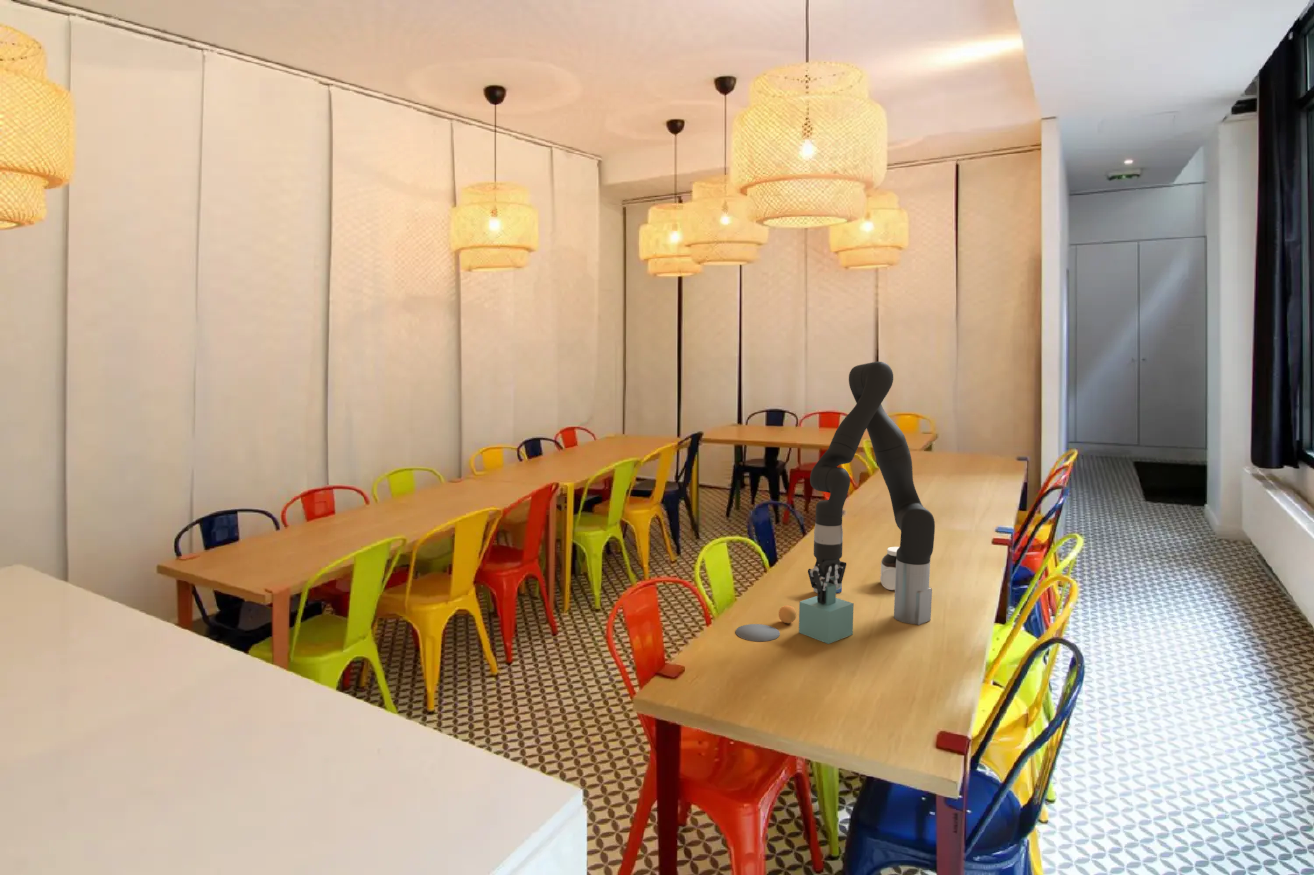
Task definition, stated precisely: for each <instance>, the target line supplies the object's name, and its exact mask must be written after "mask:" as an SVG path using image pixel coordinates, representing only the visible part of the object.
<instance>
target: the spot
mask: <svg viewBox="0 0 1314 875" xmlns="http://www.w3.org/2000/svg"><path fill="white" fill-rule="evenodd" d="M735 634H736V636H737V637H739V638H741V639H744V640H745V641H751V642H771V641H773V640H776V639H778V638H779V637H780V634H781V632H780V630H779V629H777V628H776V627H774V626H771V625H767V624H762V623H761V624H760V623H749V624H744V625H741V626H738V627H737V628H736V629H735Z"/></svg>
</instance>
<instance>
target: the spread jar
mask: <svg viewBox="0 0 1314 875" xmlns="http://www.w3.org/2000/svg"><path fill="white" fill-rule="evenodd" d="M899 547H900V546H891V547H890V546H889V547H887V549H886V551H887V553H886V554H885V555H884V556H883V557H882V559H881V563H880V576H879V577H880V579H879V580H880V584H881V585H882V587H884V588H885V589H886V590H889V591H895V576H896V553H897V549H898V548H899Z"/></svg>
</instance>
